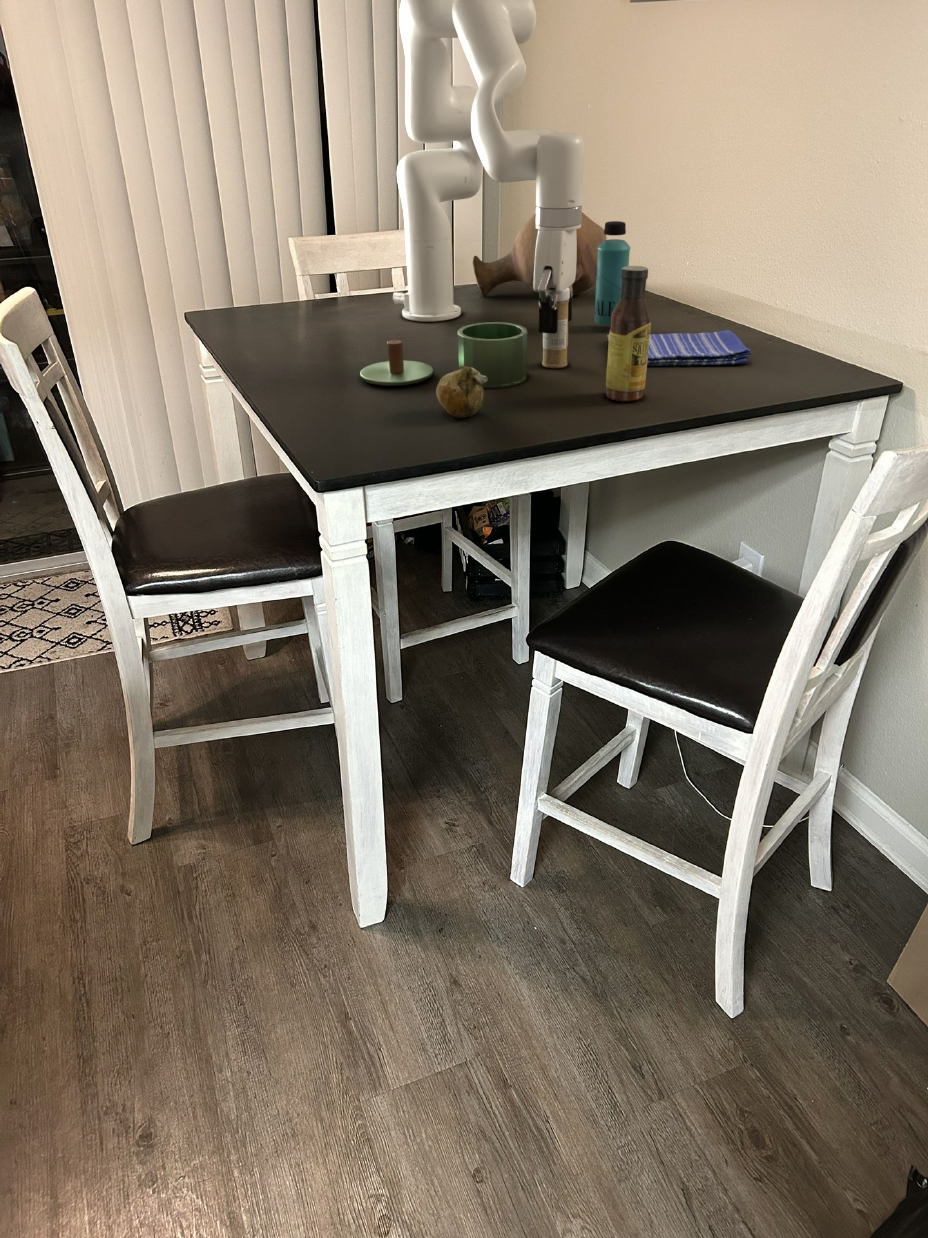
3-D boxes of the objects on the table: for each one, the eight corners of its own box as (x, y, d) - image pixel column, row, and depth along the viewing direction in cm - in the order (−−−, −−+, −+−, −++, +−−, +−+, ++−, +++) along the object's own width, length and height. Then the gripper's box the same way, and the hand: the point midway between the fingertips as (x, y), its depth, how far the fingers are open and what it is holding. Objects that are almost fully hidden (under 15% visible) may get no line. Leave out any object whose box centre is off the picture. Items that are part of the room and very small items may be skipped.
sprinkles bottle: (568, 362, 165) (571, 284, 158) (565, 369, 161) (568, 290, 154) (543, 361, 166) (544, 284, 159) (540, 368, 162) (541, 290, 155)
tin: (448, 384, 156) (447, 336, 152) (473, 365, 165) (473, 319, 161) (512, 391, 152) (513, 342, 148) (535, 371, 161) (536, 324, 157)
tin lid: (347, 384, 157) (344, 348, 154) (380, 364, 167) (378, 329, 164) (414, 392, 153) (412, 354, 150) (444, 370, 163) (443, 335, 159)
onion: (482, 404, 147) (481, 354, 143) (489, 421, 140) (488, 369, 136) (435, 407, 146) (432, 357, 142) (440, 424, 139) (437, 372, 135)
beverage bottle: (624, 324, 186) (631, 218, 176) (626, 333, 181) (633, 224, 170) (592, 324, 187) (597, 218, 176) (593, 333, 181) (598, 224, 171)
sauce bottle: (634, 405, 144) (645, 273, 134) (598, 399, 147) (605, 270, 137) (650, 394, 149) (661, 265, 139) (615, 388, 152) (623, 262, 141)
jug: (614, 288, 214) (489, 308, 221) (605, 197, 208) (477, 221, 215) (607, 289, 195) (472, 311, 203) (598, 189, 189) (458, 216, 197)
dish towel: (752, 366, 160) (754, 349, 159) (616, 367, 161) (617, 351, 160) (731, 339, 175) (733, 324, 174) (606, 341, 176) (607, 326, 175)
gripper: (552, 209, 159) (550, 313, 168) (519, 225, 145) (518, 337, 155) (594, 210, 156) (589, 316, 166) (564, 227, 143) (561, 341, 152)
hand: (555, 325), depth 160 cm, fingers open, 7 cm apart
